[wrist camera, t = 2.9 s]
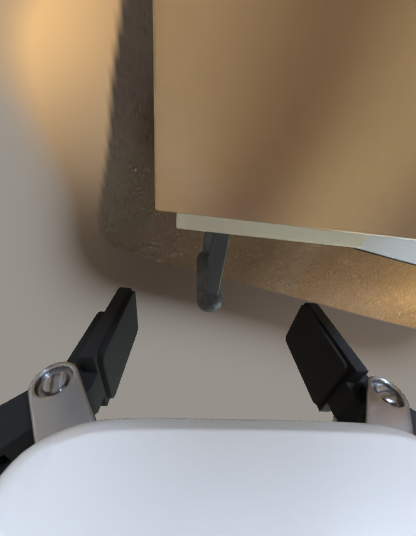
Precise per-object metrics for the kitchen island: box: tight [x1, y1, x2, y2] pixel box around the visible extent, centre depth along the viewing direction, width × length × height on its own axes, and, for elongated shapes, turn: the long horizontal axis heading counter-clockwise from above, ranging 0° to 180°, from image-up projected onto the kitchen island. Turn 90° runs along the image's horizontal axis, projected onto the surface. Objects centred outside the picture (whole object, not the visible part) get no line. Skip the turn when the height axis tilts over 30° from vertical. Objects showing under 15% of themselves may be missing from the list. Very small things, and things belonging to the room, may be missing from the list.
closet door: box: [176, 213, 369, 312], centre depth 14 cm, size 8×7×11 cm
